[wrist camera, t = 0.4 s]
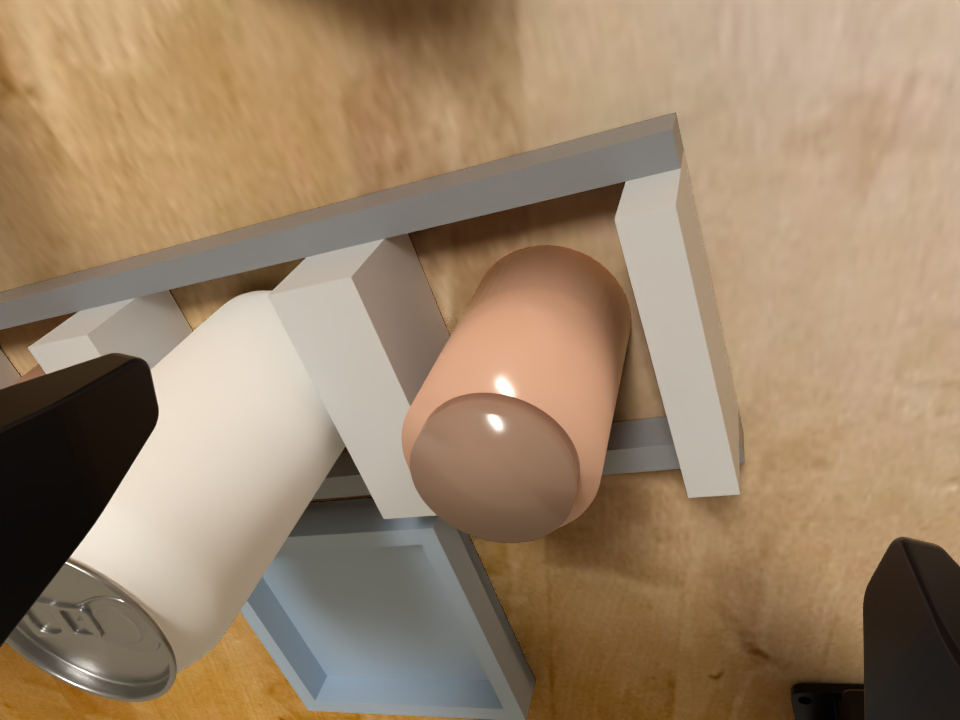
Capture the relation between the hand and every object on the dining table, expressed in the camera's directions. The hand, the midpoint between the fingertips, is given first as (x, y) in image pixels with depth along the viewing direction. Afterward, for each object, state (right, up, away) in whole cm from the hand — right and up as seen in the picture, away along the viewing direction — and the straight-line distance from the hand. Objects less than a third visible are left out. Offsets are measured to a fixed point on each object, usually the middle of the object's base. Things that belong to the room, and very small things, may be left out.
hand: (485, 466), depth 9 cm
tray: (-5, -9, +25) cm, 27 cm away
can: (-7, +1, +19) cm, 20 cm away
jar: (+2, +3, +15) cm, 15 cm away
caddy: (-7, +1, +19) cm, 20 cm away
